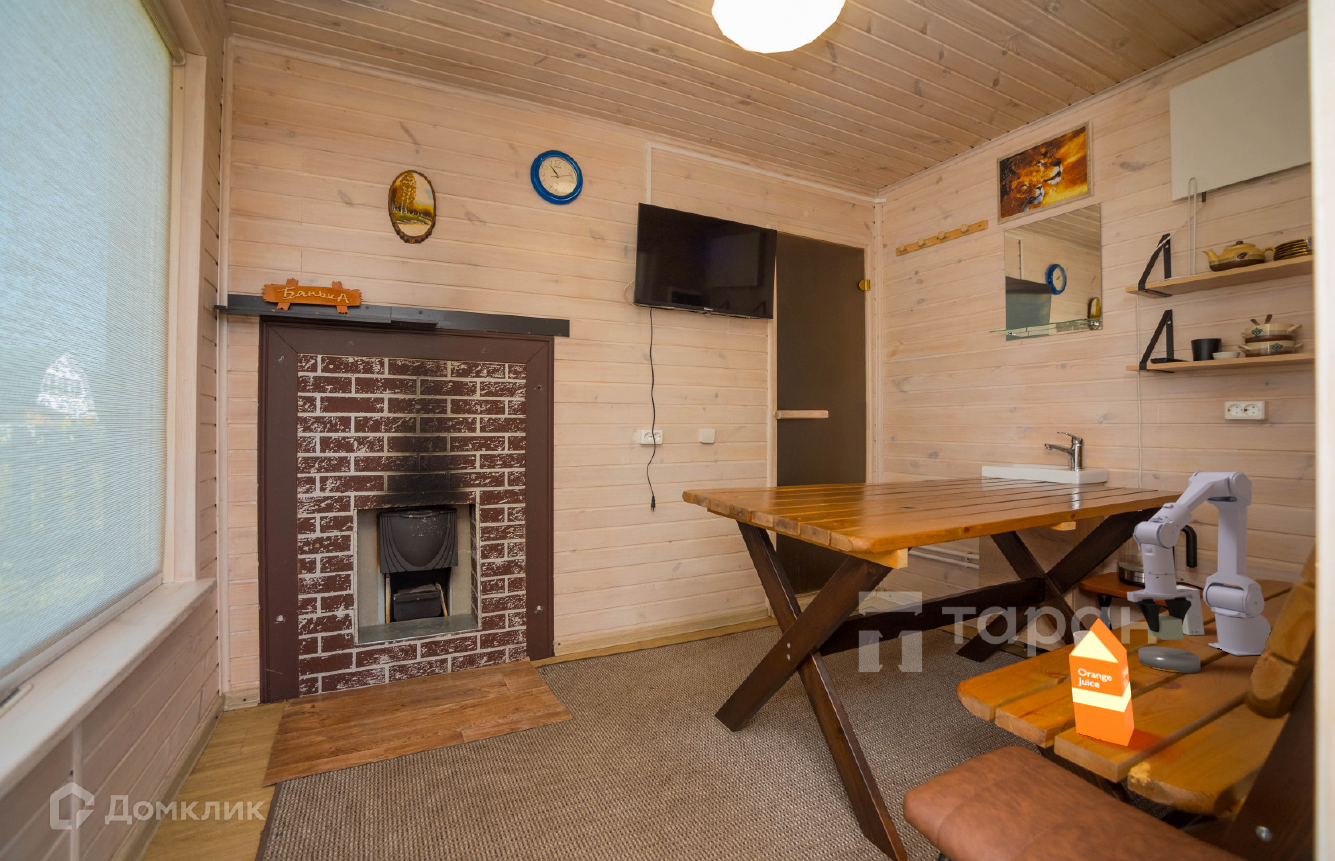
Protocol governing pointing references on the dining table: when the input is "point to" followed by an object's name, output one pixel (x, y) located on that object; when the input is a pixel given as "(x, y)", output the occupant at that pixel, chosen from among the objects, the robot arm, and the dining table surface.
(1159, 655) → the charcoal base
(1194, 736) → the dining table surface
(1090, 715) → the orange juice
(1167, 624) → the green cube
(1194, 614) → the skincare box
